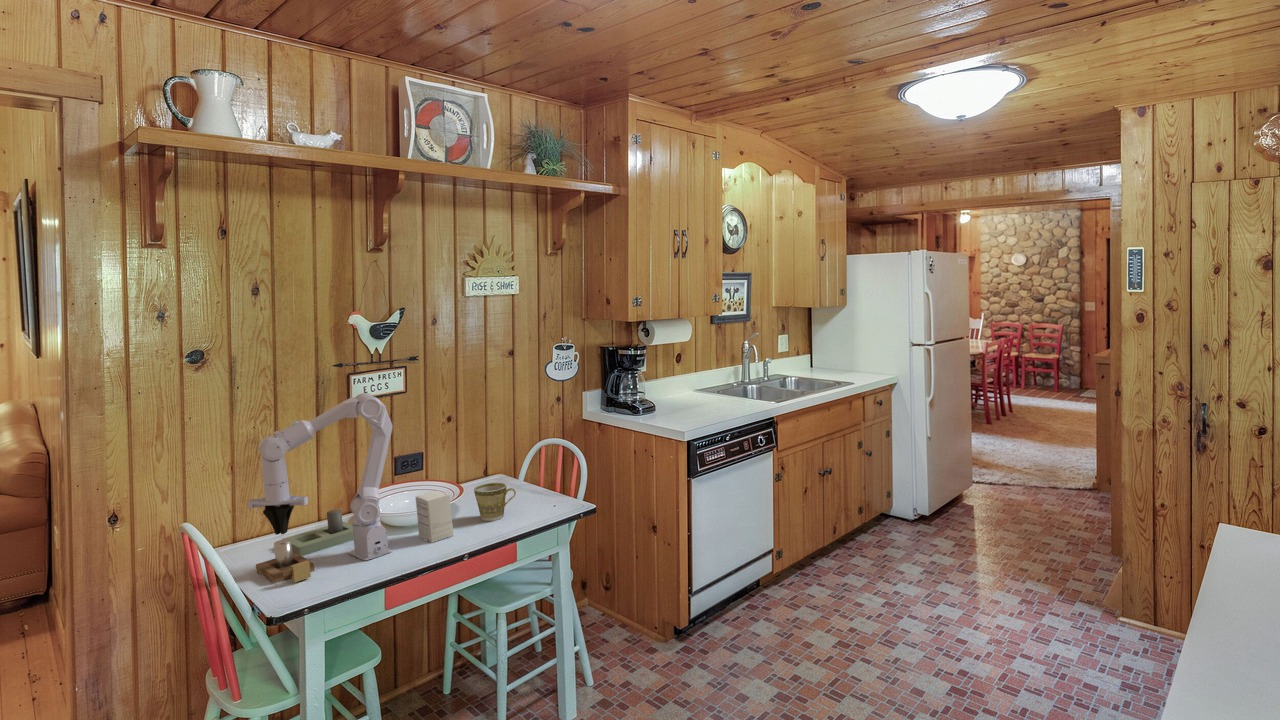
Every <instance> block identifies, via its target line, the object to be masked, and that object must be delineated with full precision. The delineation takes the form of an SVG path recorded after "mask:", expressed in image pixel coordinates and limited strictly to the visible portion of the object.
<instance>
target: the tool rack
mask: <svg viewBox="0 0 1280 720" xmlns="http://www.w3.org/2000/svg"><path fill="white" fill-rule="evenodd" d="M326 521H327V525H326V526H323V527H318V528H315V529H312V530H309V531H305V532H301V533H297V534H294V535H291V536H288V537H284V538H282V539H281V540H285V539H289V540H291V546H292V553H297V554H299V555H301V556H303V557H304V556H305V555H309V554H312V553H316V552H319V551H322V550H325V549H328V548H331V547H335V546H338V545H341V544H345V543H347V542H351V541H354V537H353V527H352V523H348V522H346V521H343V514H342V510H341V509H332V510H329V511H327V512H326Z"/></svg>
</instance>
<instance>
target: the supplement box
mask: <svg viewBox="0 0 1280 720" xmlns="http://www.w3.org/2000/svg"><path fill="white" fill-rule="evenodd" d="M451 503H452V502H451V495H450V494H449V493H447V492H443V491H440V490H435V491H431V492H428V493H423V494H420V495H416V496H415V505H416V517H417V527H418V528H417V529H418V537H419V538H420V539H421V538H422V539H421V540H423V539H425V540H427V541H426V542H428V541H429V543H430V542H431V543H430V544H433V543H436V542H439V541H441V540H442V541H443V540H445V539H448V538H451V537H454V527H453V516H452V504H451ZM447 537H448V538H447ZM444 538H445V539H444ZM425 540H424V541H425ZM438 540H439V541H438ZM435 541H436V542H435Z"/></svg>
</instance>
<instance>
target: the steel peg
mask: <svg viewBox="0 0 1280 720" xmlns="http://www.w3.org/2000/svg"><path fill="white" fill-rule="evenodd" d="M273 547H274V557H275V558H274V559H276V568H277V569H281V568H284V567H287V566H290V565H293V555H292V553H293V552H292V546H291V540H289V539H285V540H282V539H281V540H277V541H275V542H273Z"/></svg>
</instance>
